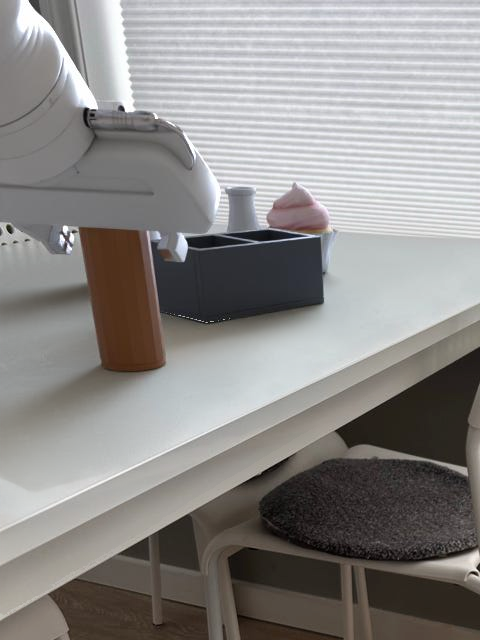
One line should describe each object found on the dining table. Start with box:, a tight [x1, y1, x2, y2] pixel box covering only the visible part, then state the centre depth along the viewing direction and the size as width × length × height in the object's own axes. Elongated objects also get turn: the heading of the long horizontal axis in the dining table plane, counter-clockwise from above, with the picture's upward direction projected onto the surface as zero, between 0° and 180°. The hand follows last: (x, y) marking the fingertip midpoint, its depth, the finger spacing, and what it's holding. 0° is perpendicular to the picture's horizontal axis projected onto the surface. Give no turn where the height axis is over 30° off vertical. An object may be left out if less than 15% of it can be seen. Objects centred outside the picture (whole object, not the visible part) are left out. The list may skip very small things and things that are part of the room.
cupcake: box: [262, 181, 340, 273], centre depth 115 cm, size 9×9×10 cm
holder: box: [150, 227, 325, 325], centre depth 97 cm, size 8×15×7 cm, turn 141°
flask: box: [224, 186, 261, 232], centre depth 107 cm, size 7×7×10 cm
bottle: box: [77, 227, 167, 372], centre depth 74 cm, size 5×5×15 cm
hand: (120, 250), depth 74 cm, fingers open, 8 cm apart
